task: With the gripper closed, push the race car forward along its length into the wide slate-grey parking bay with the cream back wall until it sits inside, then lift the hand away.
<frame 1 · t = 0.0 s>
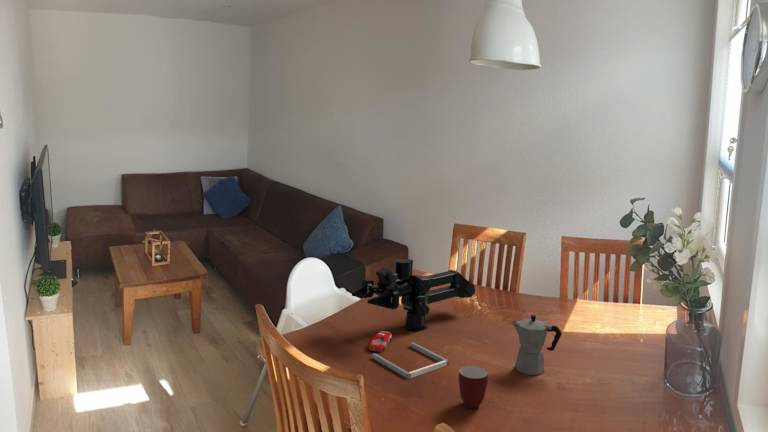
hand: (359, 297, 214), 17 cm above the table, tool horizontal, fingers open, 9 cm apart
coffeepot: (533, 370, 200), on the table
parking bay: (410, 361, 204), on the table
race car: (380, 346, 217), on the table
mug: (472, 403, 179), on the table
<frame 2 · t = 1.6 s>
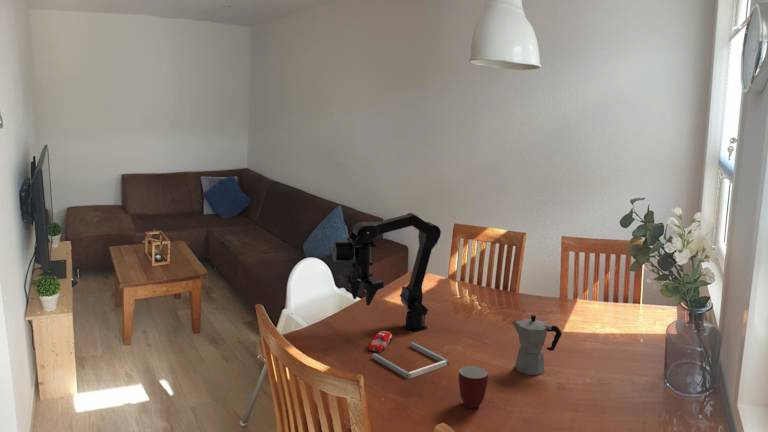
hand: (361, 302, 223), 12 cm above the table, tool pointing down, fingers open, 8 cm apart
nothing on the table moved.
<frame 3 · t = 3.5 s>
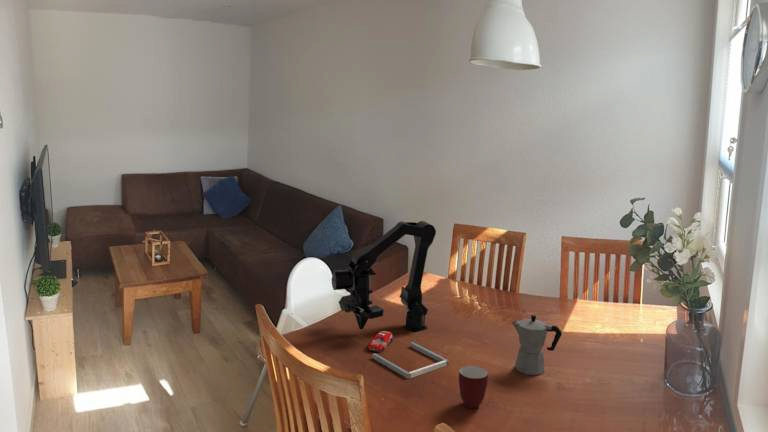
hand: (361, 329, 225), 2 cm above the table, tool pointing down, fingers closed
nothing on the table moved.
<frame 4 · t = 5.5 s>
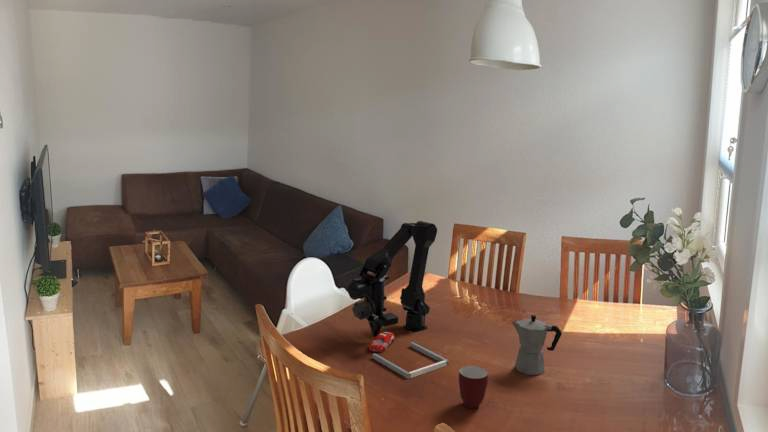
hand: (374, 336, 219), 2 cm above the table, tool pointing down, fingers closed
race car: (381, 347, 217), on the table, touching gripper
everything else where it was.
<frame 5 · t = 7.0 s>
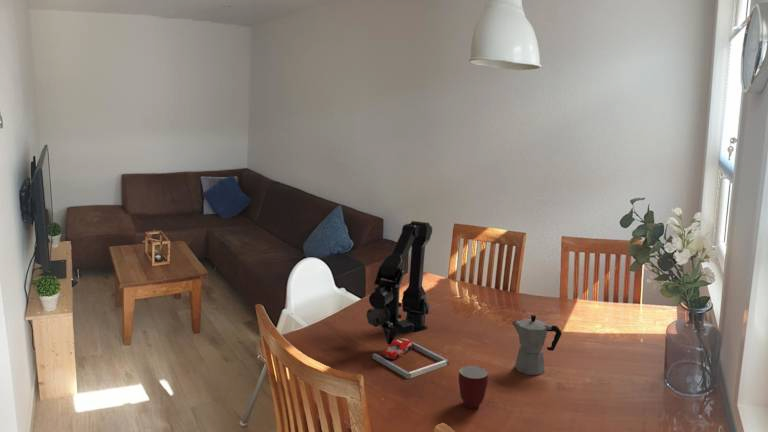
hand: (389, 344, 212), 2 cm above the table, tool pointing down, fingers closed
race car: (397, 354, 211), on the table, touching gripper
everything else where it was.
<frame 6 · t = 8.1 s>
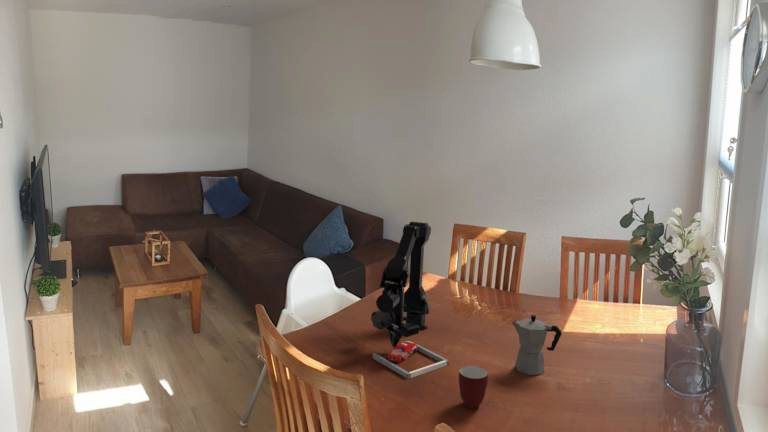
hand: (394, 346, 211), 2 cm above the table, tool pointing down, fingers closed
race car: (402, 356, 209), on the table
everything else where it was.
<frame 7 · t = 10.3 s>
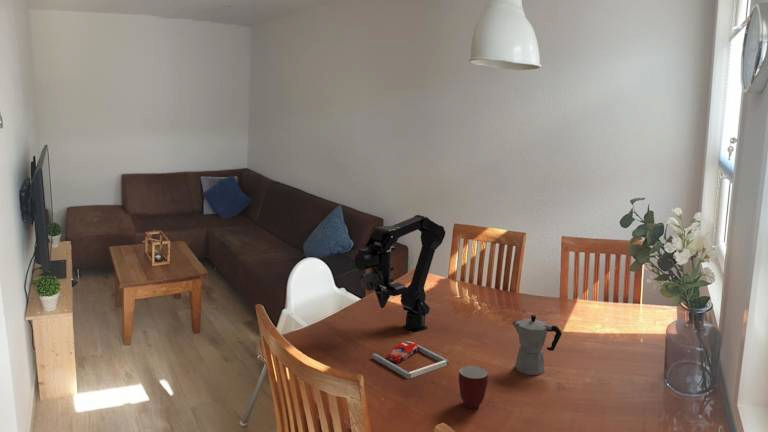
hand: (382, 307, 219), 12 cm above the table, tool pointing down, fingers closed
nothing on the table moved.
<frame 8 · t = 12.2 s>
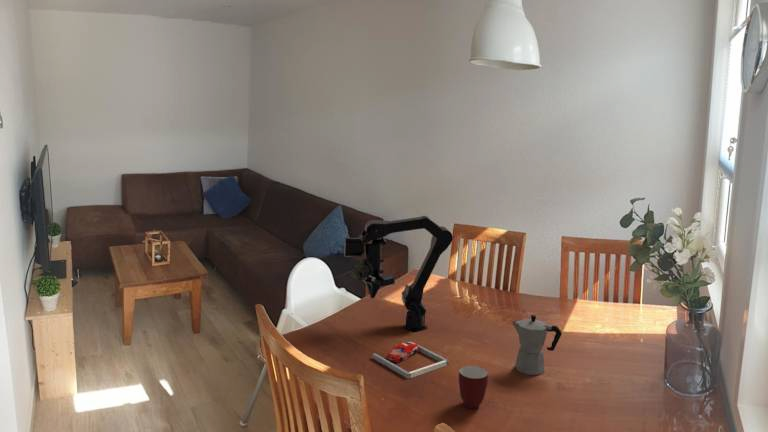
hand: (372, 297, 228), 12 cm above the table, tool pointing down, fingers closed
nothing on the table moved.
at the end: race car inside the target area on the parking bay (4.1 cm from its centre), point -0.5 cm above the parking bay's base; race car tilted 0°; race car moved 11.1 cm from its start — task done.
